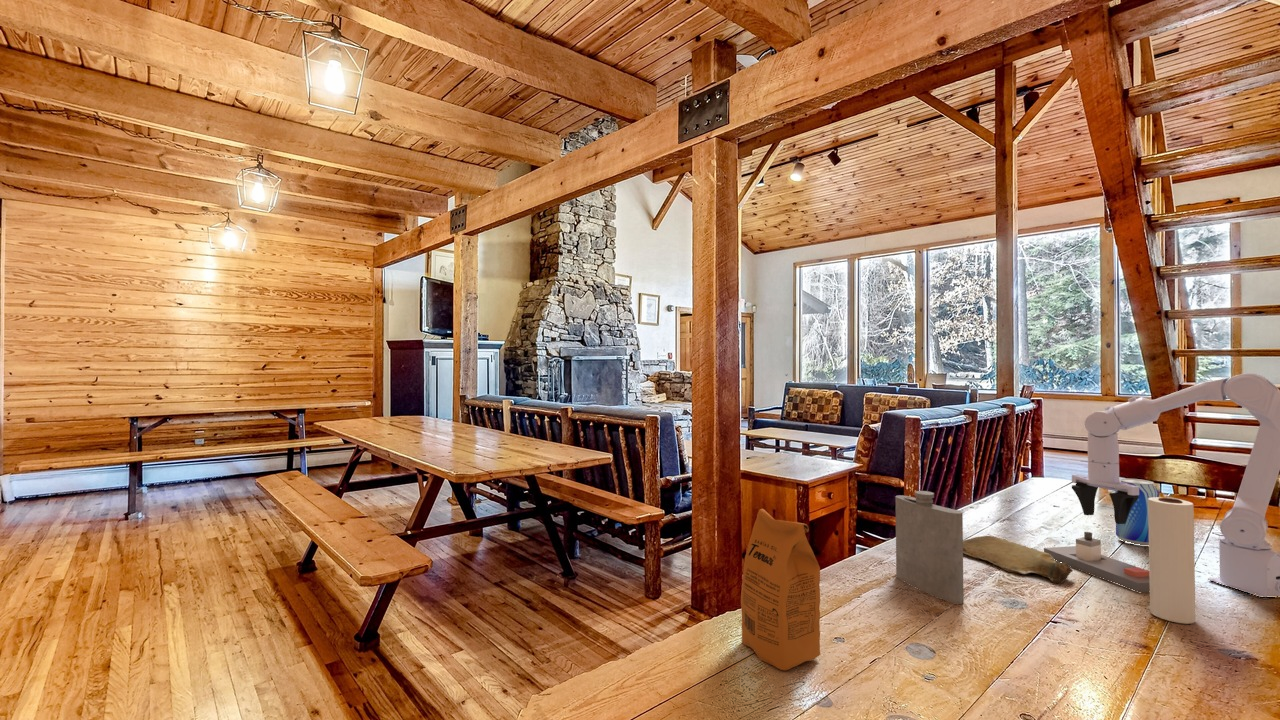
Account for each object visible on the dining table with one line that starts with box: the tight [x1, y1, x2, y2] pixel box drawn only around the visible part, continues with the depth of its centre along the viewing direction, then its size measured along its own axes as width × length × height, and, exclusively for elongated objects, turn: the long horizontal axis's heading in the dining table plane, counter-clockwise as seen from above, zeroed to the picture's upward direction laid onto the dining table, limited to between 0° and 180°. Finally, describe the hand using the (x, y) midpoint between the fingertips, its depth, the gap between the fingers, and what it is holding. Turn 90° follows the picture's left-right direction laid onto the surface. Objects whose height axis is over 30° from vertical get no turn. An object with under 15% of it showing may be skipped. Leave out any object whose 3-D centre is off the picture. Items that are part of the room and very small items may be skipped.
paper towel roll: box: [1148, 495, 1197, 625], centre depth 101 cm, size 7×6×21 cm
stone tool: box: [963, 535, 1073, 584], centre depth 129 cm, size 12×4×25 cm
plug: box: [1075, 531, 1102, 561], centre depth 127 cm, size 3×4×8 cm
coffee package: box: [740, 508, 821, 671], centre depth 90 cm, size 10×12×22 cm
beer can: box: [1114, 477, 1160, 545], centre depth 143 cm, size 8×8×16 cm
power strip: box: [1043, 545, 1150, 593], centre depth 123 cm, size 22×9×3 cm, turn 8°
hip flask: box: [895, 490, 965, 605], centre depth 115 cm, size 16×4×20 cm, turn 18°
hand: (1104, 519), depth 132 cm, fingers open, 7 cm apart
